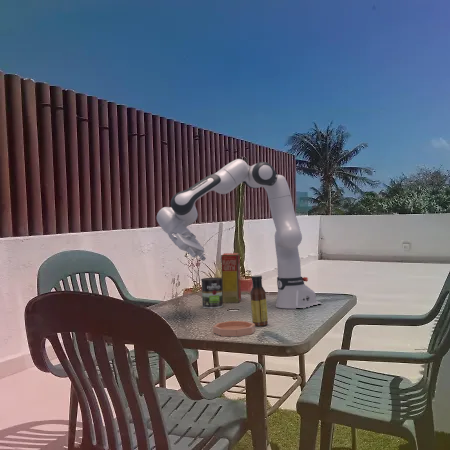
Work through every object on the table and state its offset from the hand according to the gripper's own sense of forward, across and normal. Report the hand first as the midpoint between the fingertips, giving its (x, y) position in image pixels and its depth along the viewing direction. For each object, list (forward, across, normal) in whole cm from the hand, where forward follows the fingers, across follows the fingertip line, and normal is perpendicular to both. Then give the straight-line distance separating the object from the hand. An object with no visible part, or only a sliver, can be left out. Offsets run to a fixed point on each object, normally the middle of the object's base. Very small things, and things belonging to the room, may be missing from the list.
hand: (199, 258), depth 210 cm
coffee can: (+8, +35, +19) cm, 40 cm away
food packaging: (+8, +52, +14) cm, 55 cm away
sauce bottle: (+39, +1, -1) cm, 39 cm away
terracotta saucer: (+37, -12, +5) cm, 40 cm away
